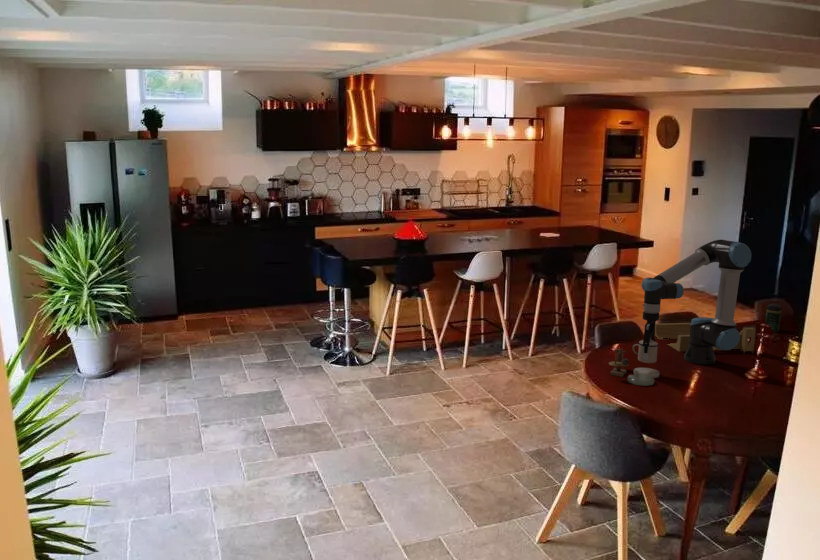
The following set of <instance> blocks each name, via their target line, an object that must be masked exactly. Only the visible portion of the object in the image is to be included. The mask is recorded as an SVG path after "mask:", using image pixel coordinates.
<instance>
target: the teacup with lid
mask: <svg viewBox="0 0 820 560" xmlns="http://www.w3.org/2000/svg"><path fill="white" fill-rule="evenodd" d="M642 344H643V339H641V340H639V341H638V343H635V344H633V345H632V351H633V353H634V354H635V355H637V360H638V361H639V362H641V363H645V364H654V363H656V362H657V359H658V348H659V347H658V346H659V343H658V342H657V341H656V340H655V341H653V340H651V338H650V344H649V346H650V349H649V360H646V359H642V358H643V346H642ZM646 344H647V343H646ZM635 347H638V352H637V351H636V350H635V349H636V348H635Z"/></svg>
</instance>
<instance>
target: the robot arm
mask: <svg viewBox="0 0 820 560" xmlns="http://www.w3.org/2000/svg"><path fill="white" fill-rule="evenodd" d="M751 260H752V251H751V249H750V247H749V246H748V245H747V244H745V243H743V242H740V241H732V240H726V239H717V240H716V239H715V240H713V241H709V242H707V243H705V244H703V245H702V246H699V247H698V248H697V249H696V248H695V250H694V253H692V254H690V255H689V256H687V257H686V258H684V259H681V260H680V261H679V262H676V263H675V264H673V265H672V266H670V267H669V268H667V269H666V270H664V271H662V272H660V273H659V274H657V275H655V276H654V277H646V278H644V279H643V280H642V282H641V289H642V290H643V291H644V295H643V297H644V298H643V303H642V306H643V309H642V310H643V311H642V320H644V321H646V323H645V325H644V333H643V339H642V340H643V344H642V346H643V358H642V359H646V360H649V349H650V346H649V344H650V338H651V340H653V341H655V342H656V337H655V324H657V322H658V321H660V313H661V312H660V311H661V301H662V300H675V299H676V300H677V299H680V298H682V297H684V296H683V295H684V286H683V285H682V284H681V283H678V281H680V280H681V279H683V278H684V277H686V276H688V275H690V274H691V273H693V272H695V271H696V270H698V269H699V268H701V267H703V266H708V265H710V264H712V263H718V269H719V270H720V277H719V283H718V284H719V285H718V291H717V301H716V306H715V307H716V308H715V315H714V317H694V318H692V319H690V320H691V321H690V323H691V325H690V338H689V346H688V348H687V350H686V351H685V353H684V355H683V359H684V361H686V362H688V363H691V364H695V365H696V364H697V365H713V364H715V363H716V355H715V352H714V351H715V350H713V346H714V347H717V348H718V349H723V350H722V351H732V350H731V349H733V348H734V347H735V346H736V345H737V344H738V342H739V340H740V332H739V331H738V329H737V323H736V322H735V320H734V319H735V312H736V305H737V297H738V290H739V285H740V284H739V283H740V276H741V274H742V272H743V271H745V267H747V266H748V265H749V264H750V263H751ZM646 343H647V344H646Z"/></svg>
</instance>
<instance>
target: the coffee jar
mask: <svg viewBox="0 0 820 560" xmlns="http://www.w3.org/2000/svg"><path fill="white" fill-rule="evenodd" d="M782 307H783V306H782V305H781V304H779V303H774V302H773V303H770V304H768V305H767V307H766V313H765V322H764V324H765V323H766V324H768V325H770V327H771V329H772V330H773V331H776V332H778V331H779V332H780V325H781V324H780V323H781V317H782ZM779 332H778V333H779Z"/></svg>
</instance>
